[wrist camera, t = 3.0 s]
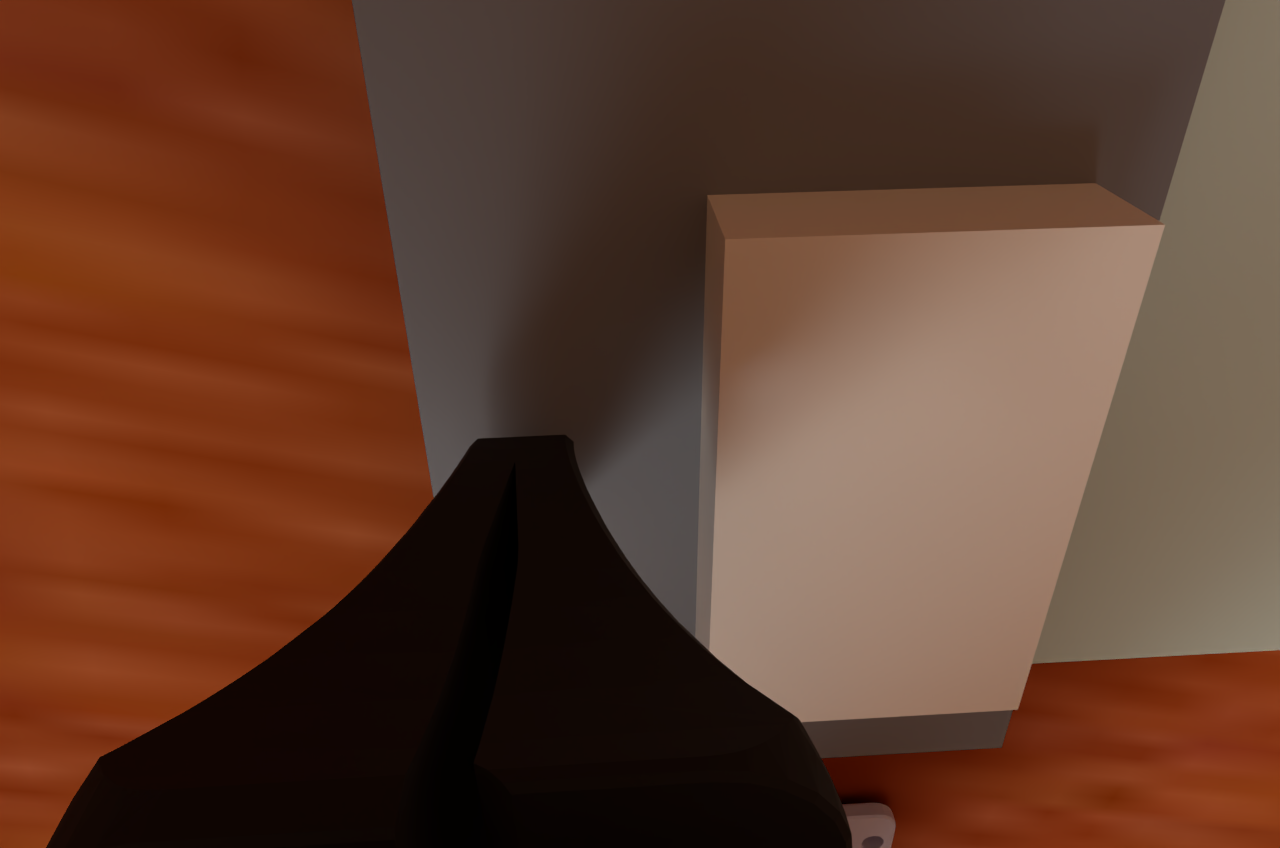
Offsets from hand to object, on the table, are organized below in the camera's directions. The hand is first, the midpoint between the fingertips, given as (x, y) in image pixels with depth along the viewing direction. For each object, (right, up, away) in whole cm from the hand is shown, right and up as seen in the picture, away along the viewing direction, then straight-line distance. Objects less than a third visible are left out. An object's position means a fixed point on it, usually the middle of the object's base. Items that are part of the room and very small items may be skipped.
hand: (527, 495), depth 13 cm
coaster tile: (+5, +1, +1) cm, 5 cm away
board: (+3, +2, +2) cm, 4 cm away
